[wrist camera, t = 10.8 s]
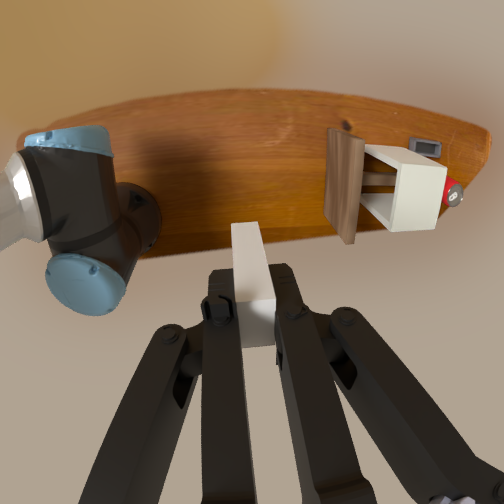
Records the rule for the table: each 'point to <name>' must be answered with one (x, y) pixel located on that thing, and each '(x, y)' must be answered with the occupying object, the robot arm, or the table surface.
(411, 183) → the tunnel
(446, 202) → the beverage can
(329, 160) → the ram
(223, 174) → the table surface
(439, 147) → the pit
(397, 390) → the robot arm
